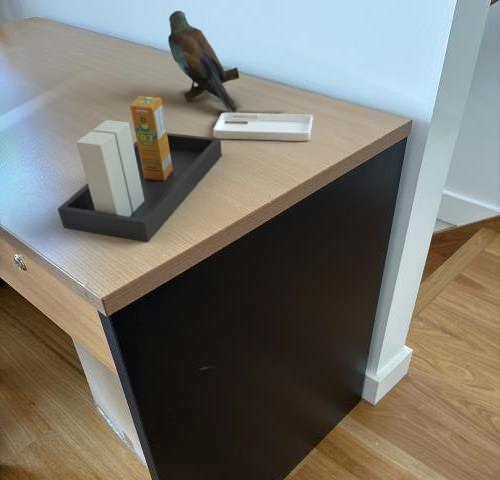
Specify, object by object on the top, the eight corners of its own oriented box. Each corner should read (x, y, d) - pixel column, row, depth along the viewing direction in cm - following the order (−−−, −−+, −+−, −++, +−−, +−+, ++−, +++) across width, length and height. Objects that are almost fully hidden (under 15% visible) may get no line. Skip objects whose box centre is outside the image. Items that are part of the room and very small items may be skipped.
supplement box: (142, 180, 69) (127, 104, 62) (152, 168, 72) (138, 94, 65) (164, 182, 68) (152, 105, 62) (174, 170, 71) (163, 95, 64)
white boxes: (98, 223, 62) (75, 141, 55) (124, 197, 66) (106, 119, 59) (120, 226, 61) (100, 144, 54) (144, 201, 65) (129, 122, 58)
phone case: (213, 138, 80) (309, 141, 78) (212, 130, 79) (309, 132, 77) (222, 120, 85) (312, 122, 83) (221, 112, 84) (313, 114, 82)
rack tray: (63, 227, 62) (57, 208, 60) (151, 147, 78) (148, 130, 76) (148, 242, 59) (144, 222, 57) (221, 155, 75) (220, 138, 73)
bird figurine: (265, 104, 87) (228, -24, 82) (214, 118, 84) (172, -14, 79) (236, 123, 99) (202, 13, 94) (190, 137, 96) (152, 23, 91)
